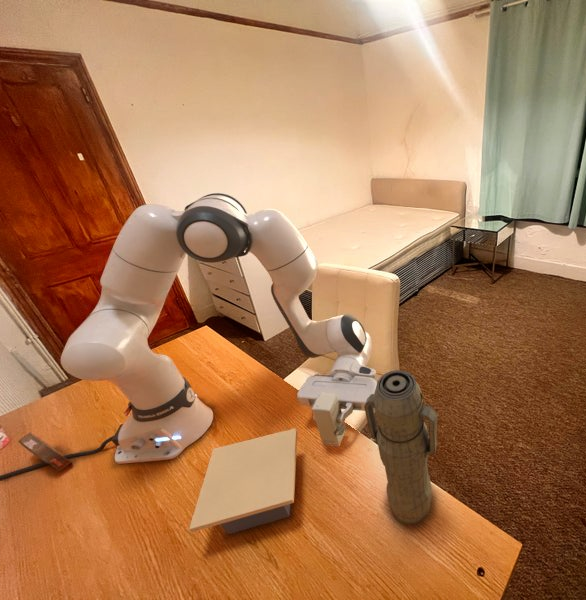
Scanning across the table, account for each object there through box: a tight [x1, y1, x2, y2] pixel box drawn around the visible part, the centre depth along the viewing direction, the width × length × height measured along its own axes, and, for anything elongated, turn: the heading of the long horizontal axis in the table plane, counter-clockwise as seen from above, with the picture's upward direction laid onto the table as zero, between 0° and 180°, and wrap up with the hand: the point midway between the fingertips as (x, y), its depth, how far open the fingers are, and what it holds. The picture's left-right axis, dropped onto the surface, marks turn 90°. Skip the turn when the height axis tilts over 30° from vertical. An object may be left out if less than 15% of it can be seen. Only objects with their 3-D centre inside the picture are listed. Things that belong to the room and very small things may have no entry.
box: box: [311, 392, 347, 447], centre depth 72 cm, size 5×4×13 cm
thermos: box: [364, 369, 438, 525], centre depth 55 cm, size 9×12×35 cm
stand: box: [188, 427, 298, 535], centre depth 65 cm, size 18×16×9 cm
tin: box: [18, 431, 73, 472], centre depth 77 cm, size 15×3×8 cm, turn 65°
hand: (328, 420), depth 71 cm, fingers closed on box, 4 cm apart
